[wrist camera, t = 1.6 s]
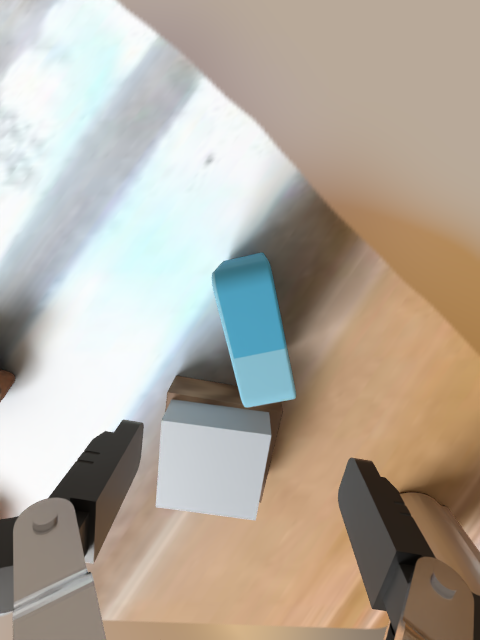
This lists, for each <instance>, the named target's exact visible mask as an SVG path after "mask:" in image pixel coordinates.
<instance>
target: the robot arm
mask: <svg viewBox="0 0 480 640" xmlns="http://www.w3.org/2000/svg"><path fill="white" fill-rule="evenodd" d="M143 428H144V425H143V423H141V422H135V421H129V420H122V422H121V423H120V424H119V426H118V427H117V429H116V430H115V432H114V433H113V432H107V431H105V432H103V433H102V434H100V435H99V436H97V437H96V438H94V439H93V440H92V441H91V442H90V444H89V445H88V446H87V448H86V449H85V451H84V452H83V453H82V454H81V456H80V457H79V458H78V460H77V462H75V464H74V465H73V466H72V467H71V469H70V470H69V471H68V473H67V474H66V475H65V477H64V478H63V479H62V481H61V482H60V483H59V485H58V486H57V487H56V489H55V490H54V491H53V493H52V494H51V495H50V496H49V498H48V499H44V500H41V501H39V502H37V503H35V504H33V505H31V506H30V507H28V508H27V509H26V510H25V511H23V512H22V514H21V515H20V516H18V517H14V518H8V519H1V520H0V614H1V613H6V612H10V611H13V640H106V636H105V632H104V627H103V622H102V618H101V613H100V608H99V603H98V599H97V594H96V589H95V585H94V580H93V577H92V574H91V572H89V573H88V571H87V568H86V563H93V564H94V562H95V560H96V557H97V555H98V553H99V551H100V549H101V547H102V545H103V543H104V541H105V538H106V536H107V534H108V532H109V530H110V528H111V526H112V524H113V521H114V519H115V517H116V515H117V513H118V511H119V509H120V507H121V505H122V502H123V500H124V498H125V496H126V494H127V492H128V490H129V488H130V486H131V483H132V481H133V479H134V477H135V475H136V473H137V470H138V467H139V463H140V459H141V450H142V439H143ZM338 502H339V508H340V511H341V514H342V517H343V520H344V523H345V526H346V529H347V533H348V536H349V539H350V542H351V545H352V548H353V551H354V554H355V557H356V560H357V564H358V567H359V570H360V573H361V576H362V579H363V582H364V585H365V588H366V591H367V594H368V598H369V601H370V604H371V607H372V609H377V610H383V611H387V613H388V616H389V619H390V622H389V624H388V626H387V629H386V633H385V636H384V640H480V552H479V550H478V549H477V548H476V546H475V545H474V543H473V542H472V541H471V539H470V538H469V536H468V535H467V534H466V532H465V531H464V529H463V528H462V527H461V525H460V524H459V522H458V521H457V520H456V518H455V517H454V516H453V514H452V513H451V511H450V510H449V509H448V507H445V506H441V505H440V504H439V503H438V502H437V501H436V500H435V499H433V498H432V497H430V496H428V495H425V494H422V493H416V492H409V493H402V494H399V492H398V490H397V489H396V488H395V487H394V486H393V485H392V484H391V483H390V482H389V481H388V480H387V479H386V478H384V477H380V475H379V473H378V471H377V469H376V467H375V465H374V464H373V462H372V461H369V460H362V459H356V458H350V459H349V460H348V463H347V466H346V469H345V472H344V475H343V478H342V481H341V484H340V487H339V492H338ZM85 562H86V563H85Z"/></svg>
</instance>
